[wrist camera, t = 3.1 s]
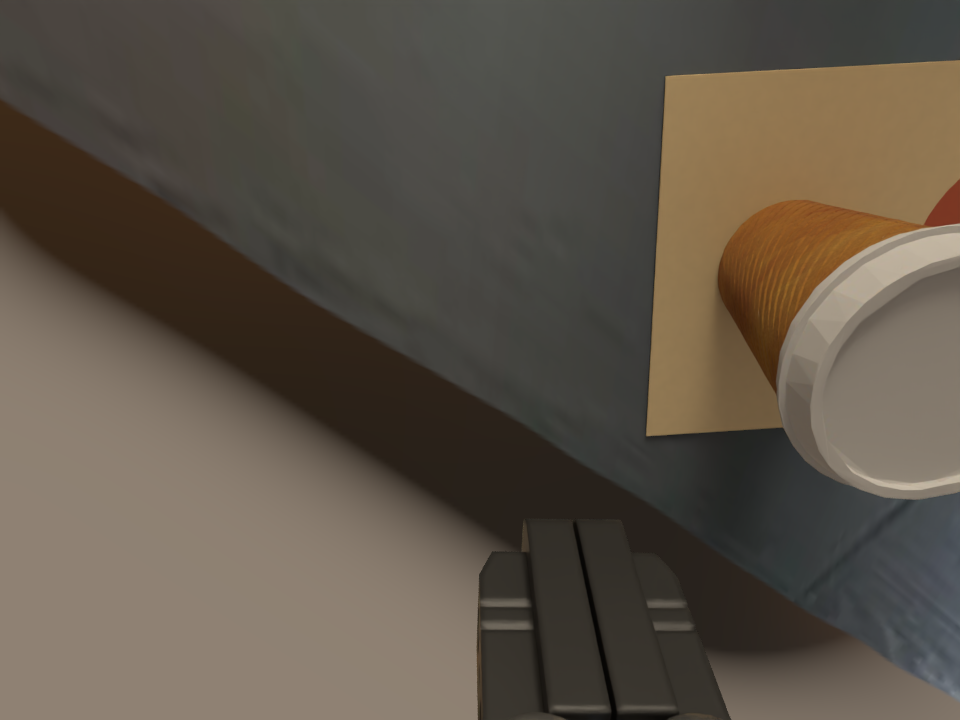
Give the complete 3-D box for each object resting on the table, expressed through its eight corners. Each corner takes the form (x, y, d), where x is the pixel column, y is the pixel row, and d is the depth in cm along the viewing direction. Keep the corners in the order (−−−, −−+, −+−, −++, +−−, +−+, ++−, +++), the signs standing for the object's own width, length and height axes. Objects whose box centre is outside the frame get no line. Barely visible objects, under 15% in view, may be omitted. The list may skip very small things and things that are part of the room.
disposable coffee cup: (802, 392, 37) (954, 549, 26) (642, 310, 35) (734, 444, 24) (933, 223, 34) (1170, 322, 23) (765, 121, 31) (939, 177, 20)
